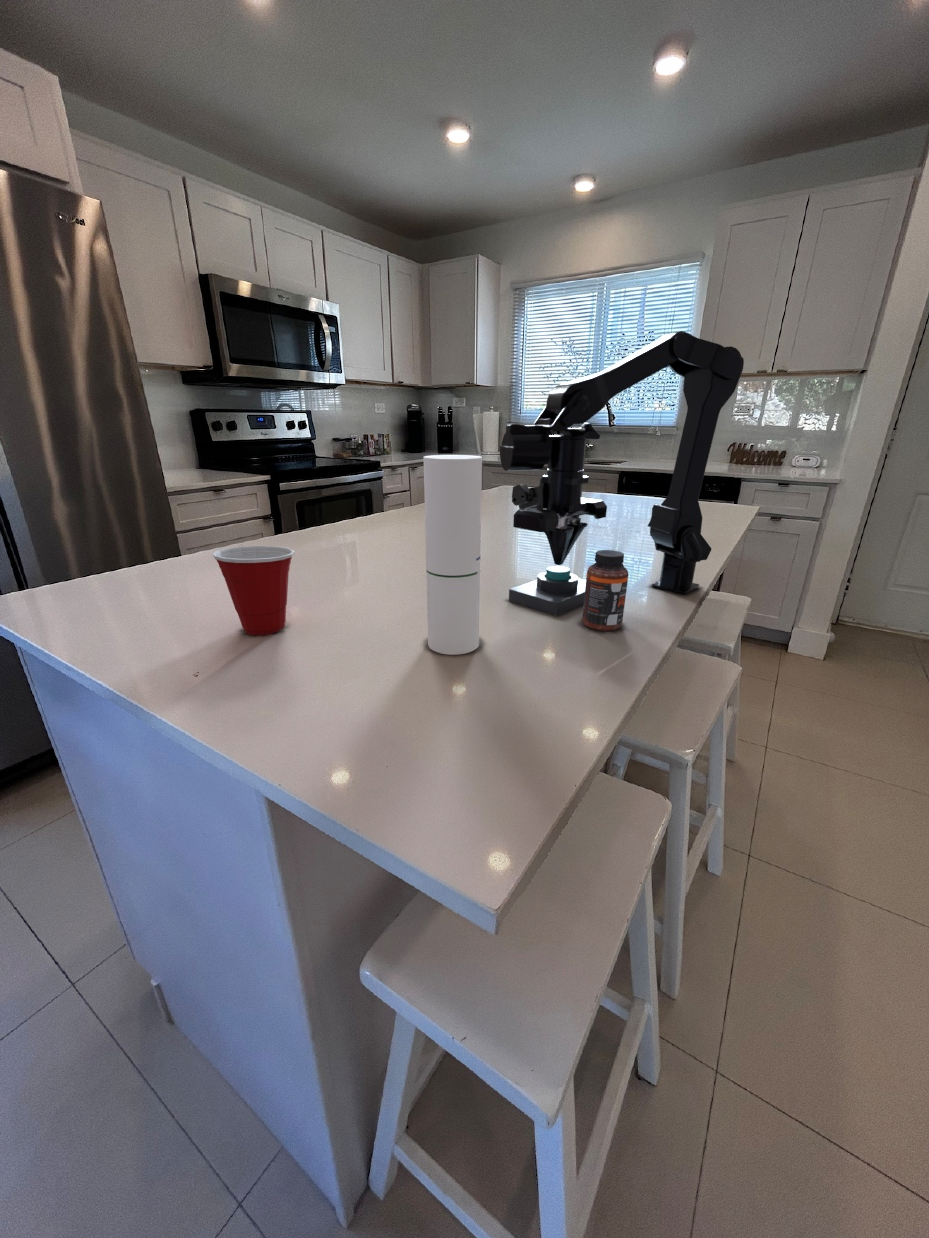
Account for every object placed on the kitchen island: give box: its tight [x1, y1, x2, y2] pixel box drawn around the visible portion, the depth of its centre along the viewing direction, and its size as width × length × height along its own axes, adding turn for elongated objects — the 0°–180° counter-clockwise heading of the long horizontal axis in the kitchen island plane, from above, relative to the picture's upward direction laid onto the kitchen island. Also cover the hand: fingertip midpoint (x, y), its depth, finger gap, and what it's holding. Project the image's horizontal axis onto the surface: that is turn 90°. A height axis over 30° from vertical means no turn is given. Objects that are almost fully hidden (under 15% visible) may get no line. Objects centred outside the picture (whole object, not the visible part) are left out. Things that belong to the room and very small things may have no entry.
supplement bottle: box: [581, 549, 629, 632], centre depth 76 cm, size 6×6×11 cm
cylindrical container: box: [423, 454, 483, 656], centre depth 66 cm, size 7×7×25 cm
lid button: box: [545, 565, 571, 581], centre depth 87 cm, size 4×4×2 cm
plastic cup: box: [212, 545, 296, 636], centre depth 74 cm, size 11×11×12 cm
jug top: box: [508, 571, 586, 617], centre depth 88 cm, size 14×10×4 cm
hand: (558, 564), depth 87 cm, fingers closed
